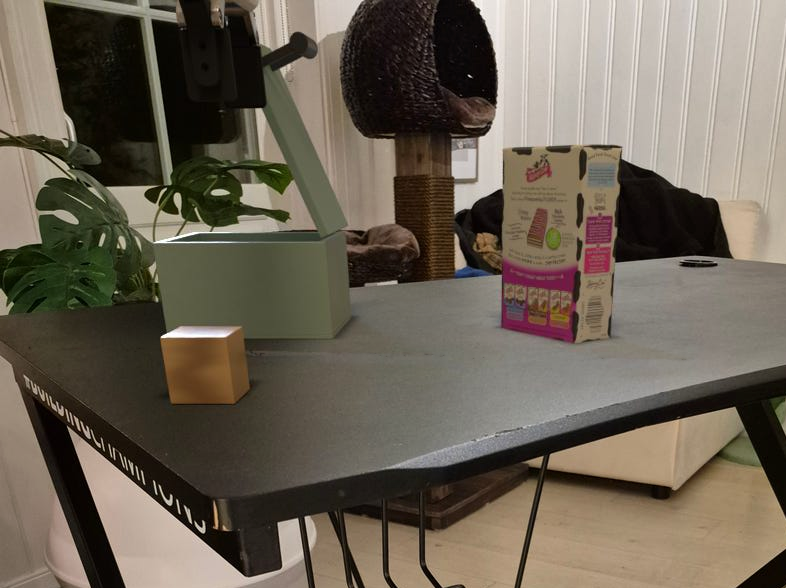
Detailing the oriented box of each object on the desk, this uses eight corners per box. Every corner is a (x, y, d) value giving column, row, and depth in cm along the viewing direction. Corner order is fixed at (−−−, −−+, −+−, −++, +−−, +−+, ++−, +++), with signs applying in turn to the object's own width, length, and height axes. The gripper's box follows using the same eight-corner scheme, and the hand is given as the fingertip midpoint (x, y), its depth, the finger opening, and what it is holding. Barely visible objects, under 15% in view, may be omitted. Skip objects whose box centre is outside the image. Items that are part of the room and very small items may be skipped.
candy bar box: (613, 343, 85) (626, 144, 77) (574, 349, 82) (583, 144, 75) (536, 327, 93) (540, 145, 85) (498, 332, 90) (499, 145, 83)
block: (170, 404, 65) (159, 337, 62) (189, 389, 69) (180, 326, 67) (234, 404, 65) (226, 337, 62) (250, 389, 69) (242, 326, 66)
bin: (168, 344, 85) (152, 242, 81) (206, 322, 96) (193, 232, 92) (333, 344, 85) (325, 242, 81) (351, 322, 96) (345, 231, 92)
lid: (228, 36, 74) (286, 5, 73) (263, 52, 85) (314, 25, 84) (320, 238, 81) (375, 213, 80) (341, 228, 92) (389, 206, 91)
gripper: (172, -164, 65) (210, 111, 73) (79, -264, 50) (139, 98, 58) (277, -166, 65) (302, 110, 73) (216, -267, 50) (257, 96, 58)
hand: (230, 104), depth 65 cm, fingers open, 9 cm apart
